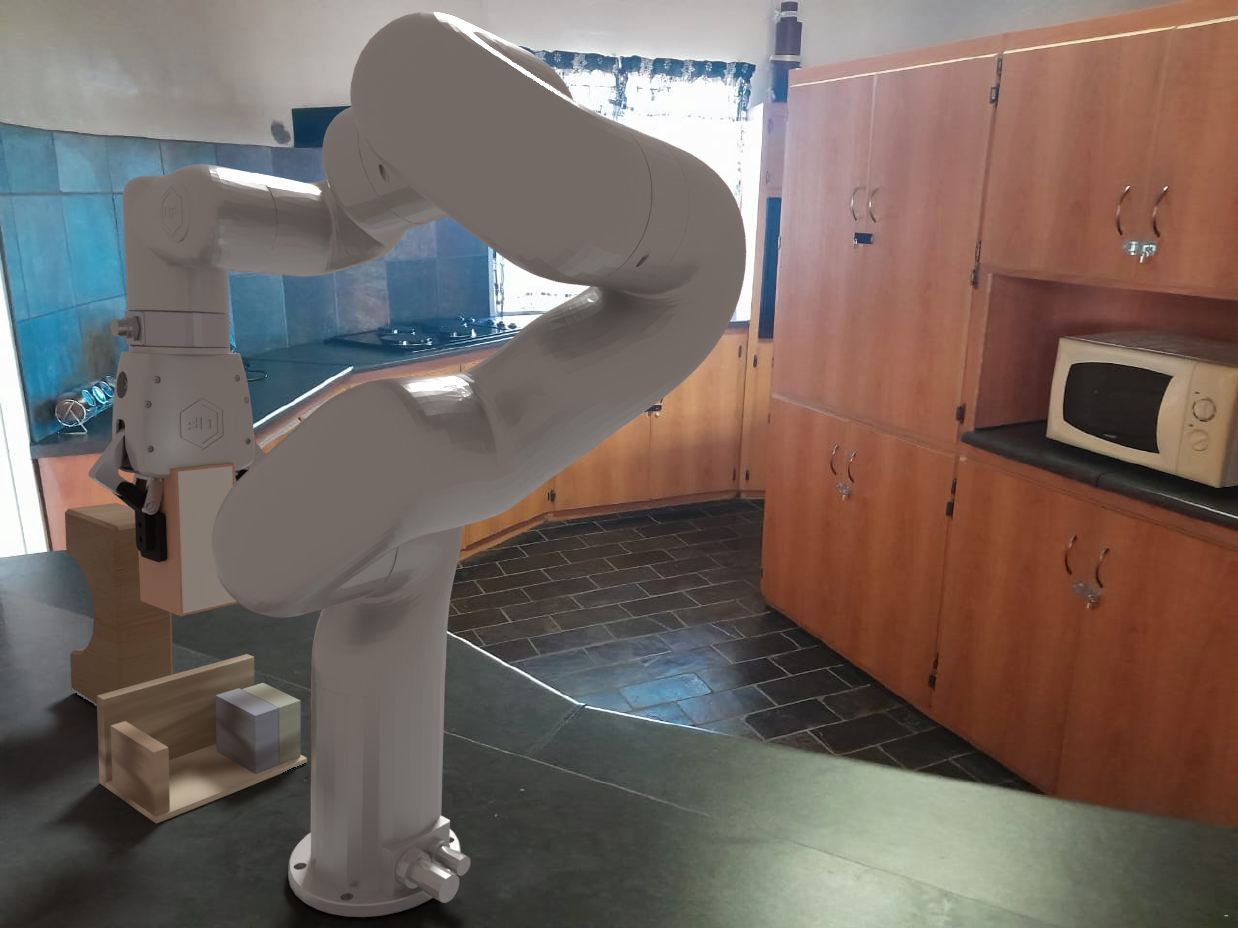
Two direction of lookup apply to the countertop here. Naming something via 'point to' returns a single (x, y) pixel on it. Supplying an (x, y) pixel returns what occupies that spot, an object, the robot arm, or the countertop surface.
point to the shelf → (195, 737)
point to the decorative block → (115, 605)
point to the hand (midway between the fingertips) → (187, 550)
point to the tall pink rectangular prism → (188, 542)
